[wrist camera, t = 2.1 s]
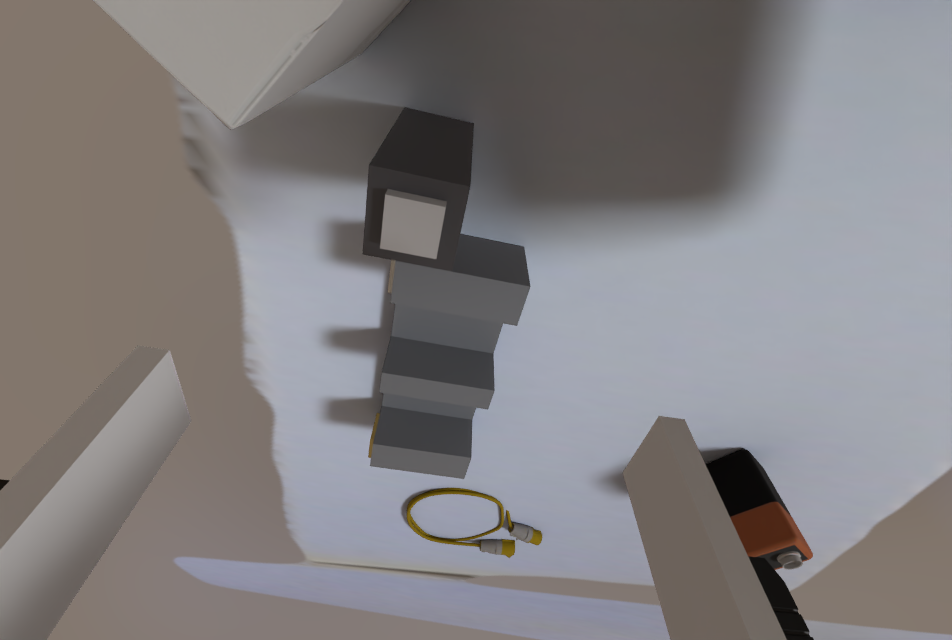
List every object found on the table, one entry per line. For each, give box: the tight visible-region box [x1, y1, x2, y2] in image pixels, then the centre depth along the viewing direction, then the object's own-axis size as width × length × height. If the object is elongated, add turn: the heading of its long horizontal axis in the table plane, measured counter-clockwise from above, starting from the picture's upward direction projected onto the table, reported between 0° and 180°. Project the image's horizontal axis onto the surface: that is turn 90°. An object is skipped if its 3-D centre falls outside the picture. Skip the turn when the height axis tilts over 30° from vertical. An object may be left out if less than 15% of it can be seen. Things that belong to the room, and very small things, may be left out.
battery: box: [706, 450, 813, 570], centre depth 42 cm, size 4×7×10 cm, turn 132°
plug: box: [363, 108, 474, 271], centre depth 23 cm, size 4×4×11 cm
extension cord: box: [407, 488, 542, 558], centre depth 52 cm, size 12×16×2 cm
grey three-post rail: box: [368, 234, 530, 479], centre depth 34 cm, size 20×8×5 cm, turn 168°
